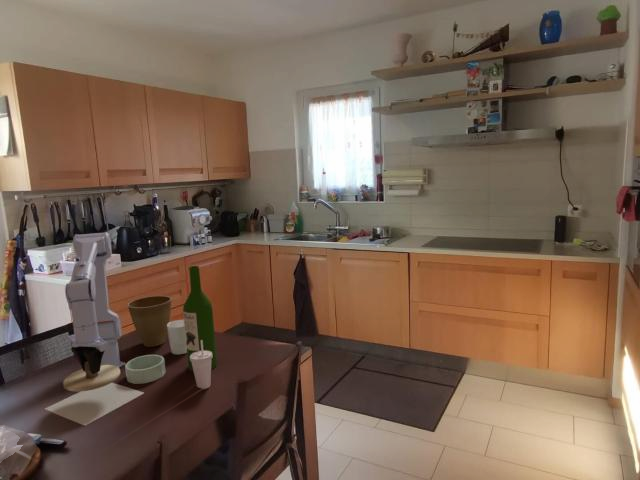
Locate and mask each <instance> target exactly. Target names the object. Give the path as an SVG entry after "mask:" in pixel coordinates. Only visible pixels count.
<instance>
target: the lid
mask: <svg viewBox="0 0 640 480" xmlns="http://www.w3.org/2000/svg"><path fill="white" fill-rule="evenodd" d="M84 365H85V371H83V369H82V368H81V369H79V370H77V371H75V372H72V373H71V374H69V375H68V376H66V377H65V379H63V380H62V384H63V389H64V390H66V391H70V392H77V393H79V392H81V391H88V390H93V389H97V388H100V387H103V386H106V385H108V384H110V383H114V382H116V381H117V379H118V378H119V377H120V376H121V369H120V367H117V366H114V365H101V367H100V371H99V372H97V373H95V374H92V373H91V371H90V368H89V364H88V361H87V362H85V363H84Z"/></svg>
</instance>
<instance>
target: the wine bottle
mask: <svg viewBox="0 0 640 480" xmlns="http://www.w3.org/2000/svg"><path fill="white" fill-rule="evenodd" d="M188 270H189V271H188V272H189V282H190V283H189V284H190V292H189V294H188V296H187V298H186V300H185V302H184V304H183V310H182V312H183V313H182V314H183V320H184V325H185V335H186V346H187V353H186V354H187V356H186V357H187V364H188V369H189V371H191V372H194V371H193V366H192V362H191V361H190V355H191V354H192V353H194V352H197V351H201V340H203V351H210V352H212V356H213V357H212V358H211V370H213V369H215V368H216V367H217V365H218V359H217V358H218V357H217V356H218V355H217V347H216V346H217V344H216V336H215V335H216V334H215V332H216V331H215V324H214V313H213V312H214V311H213V305H212V301H211V300H210V299H209V298H208V297H207V295H206V294H205V293H204V291H203V290H202V285H201V275H200V266H198V265H193V266H190V267H189V268H188Z"/></svg>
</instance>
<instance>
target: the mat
mask: <svg viewBox="0 0 640 480" xmlns="http://www.w3.org/2000/svg"><path fill="white" fill-rule="evenodd" d="M144 394H145V392H143V391H140V390H137V389H134V388H130V387H127V386H124V385H121V384H118V383H114V382H112V383H110V384H108V385H106V386H103V387H100V388H97V389H93V390H88V391H80V392H77V393H75V394H72V395H71V396H69V397H65V398H64V399H62V400H60V401H58V402H56V403H54V404H52V405H49V406H47V407H45V408H44V410H46V411H48V412H50V413H52V414H54V415H58V416H60V417H62V418H65V419H67V420H70V421H72V422H75V423H77V424H80V425H82V426H88V425H89V424H91V423H93V422H95V421H97V420H98V419H101V418H102V417H104V416H105V415H108V414H110V413H111V412H113V411H115V410H117V409H118V408H120V407H122V406H124V405H125V404H127V403H129V402H131V401H133V400H134V399H136V398H139V397H140V396H142V395H144Z"/></svg>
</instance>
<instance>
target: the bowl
mask: <svg viewBox="0 0 640 480" xmlns="http://www.w3.org/2000/svg"><path fill="white" fill-rule="evenodd" d="M124 369H125V375H126V380H127V382H128V383H130V384H134V385H137V384H140V385H141V384H149V383H151V382H154V381H157V380H158V379H161V378H163V376H165V373H166V361H165V358H164V357H163V355H159V354H145V355H141V356H136V357H135V358H132V359H130V360H129V361H127V363H126V364H125V365H124Z"/></svg>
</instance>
